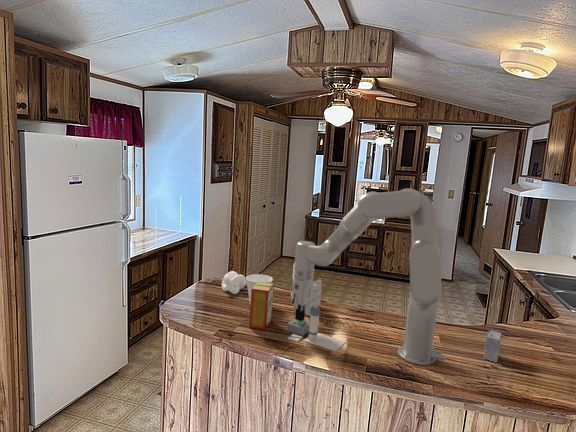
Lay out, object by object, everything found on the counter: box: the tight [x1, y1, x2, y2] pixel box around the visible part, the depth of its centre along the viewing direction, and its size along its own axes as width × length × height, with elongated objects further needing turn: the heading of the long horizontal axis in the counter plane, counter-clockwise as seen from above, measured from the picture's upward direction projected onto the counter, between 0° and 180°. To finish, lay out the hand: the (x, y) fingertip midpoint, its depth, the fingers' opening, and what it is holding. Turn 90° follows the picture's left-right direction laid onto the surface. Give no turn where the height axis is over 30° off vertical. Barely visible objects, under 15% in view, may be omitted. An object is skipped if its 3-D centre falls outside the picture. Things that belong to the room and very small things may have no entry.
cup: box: [245, 273, 274, 306], centre depth 176 cm, size 12×12×12 cm
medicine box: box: [483, 329, 503, 363], centre depth 144 cm, size 8×4×9 cm, turn 148°
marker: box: [307, 308, 321, 342], centre depth 146 cm, size 3×3×12 cm
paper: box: [303, 332, 347, 352], centre depth 146 cm, size 13×9×1 cm
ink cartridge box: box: [305, 279, 323, 317], centre depth 173 cm, size 9×5×15 cm, turn 143°
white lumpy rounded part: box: [221, 270, 247, 295], centre depth 192 cm, size 11×12×9 cm
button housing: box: [286, 318, 310, 337], centre depth 154 cm, size 7×7×3 cm
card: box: [287, 333, 303, 343], centre depth 147 cm, size 4×4×1 cm
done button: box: [295, 319, 305, 326], centre depth 154 cm, size 3×3×4 cm
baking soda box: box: [248, 282, 275, 331], centre depth 156 cm, size 10×6×16 cm
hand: (299, 319), depth 154 cm, fingers closed
